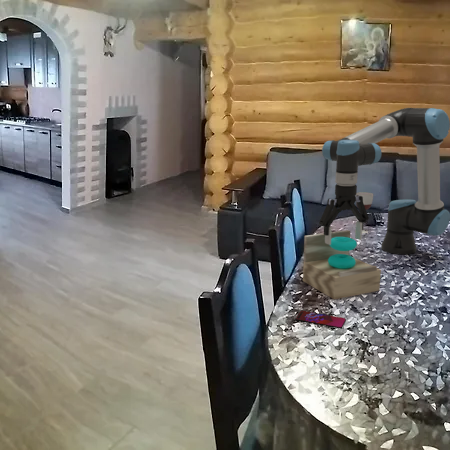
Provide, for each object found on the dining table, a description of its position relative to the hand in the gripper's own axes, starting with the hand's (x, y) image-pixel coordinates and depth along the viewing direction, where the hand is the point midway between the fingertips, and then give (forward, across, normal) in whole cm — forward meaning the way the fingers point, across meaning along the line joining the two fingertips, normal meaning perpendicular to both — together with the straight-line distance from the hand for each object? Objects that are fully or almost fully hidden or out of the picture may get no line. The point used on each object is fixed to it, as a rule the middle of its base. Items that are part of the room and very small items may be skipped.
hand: (343, 241), depth 192 cm
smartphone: (+18, -24, -22) cm, 37 cm away
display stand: (+17, 0, 0) cm, 17 cm away
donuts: (+9, 0, 0) cm, 9 cm away
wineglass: (+18, +56, +58) cm, 83 cm away
